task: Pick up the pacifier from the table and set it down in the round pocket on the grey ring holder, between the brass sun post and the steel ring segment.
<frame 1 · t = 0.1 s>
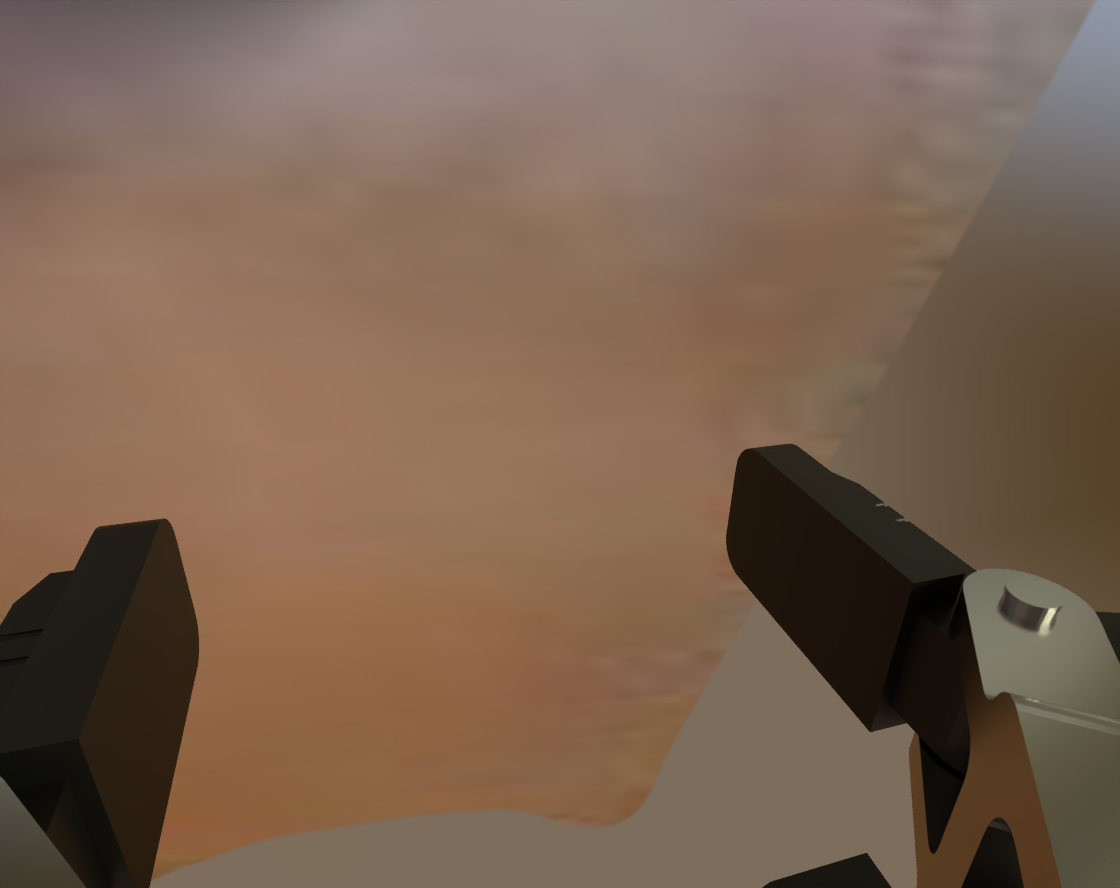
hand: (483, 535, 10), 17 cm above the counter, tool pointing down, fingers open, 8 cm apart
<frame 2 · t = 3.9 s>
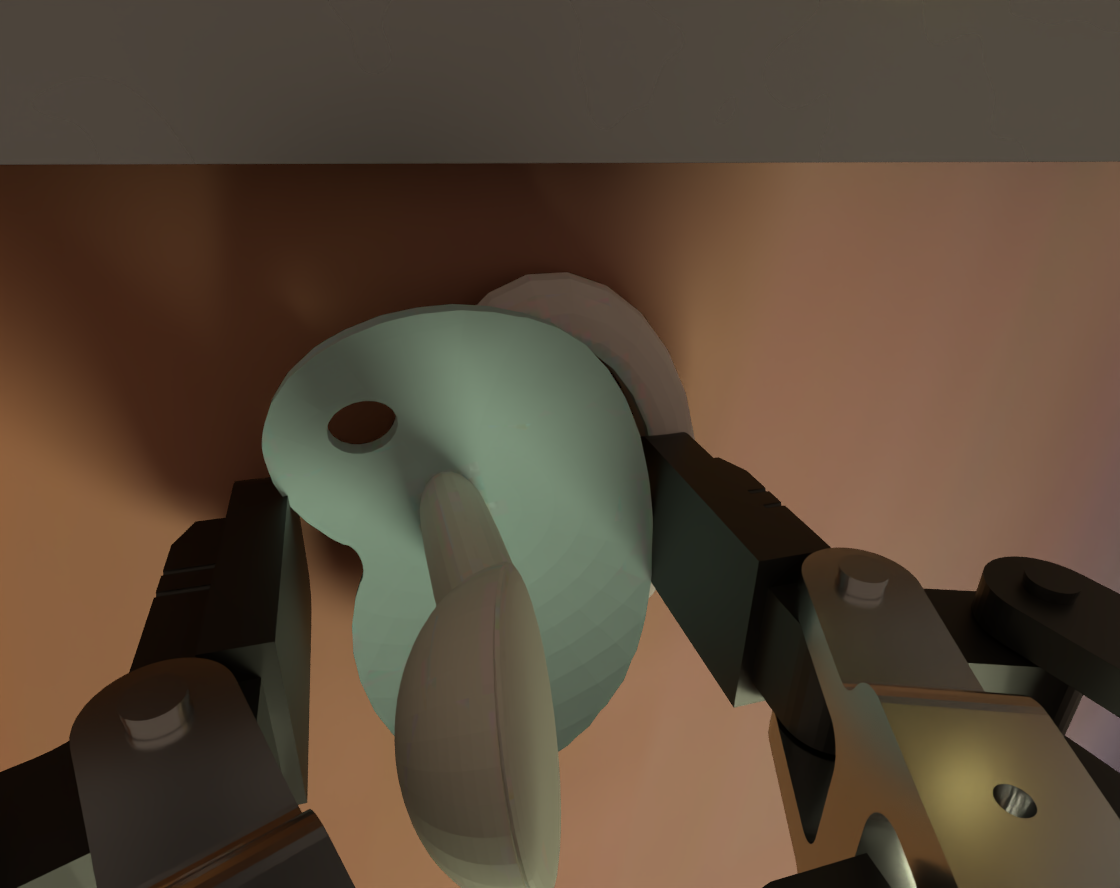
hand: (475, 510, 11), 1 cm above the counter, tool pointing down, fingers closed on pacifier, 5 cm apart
pacifier: (506, 472, 12), on the counter, touching gripper
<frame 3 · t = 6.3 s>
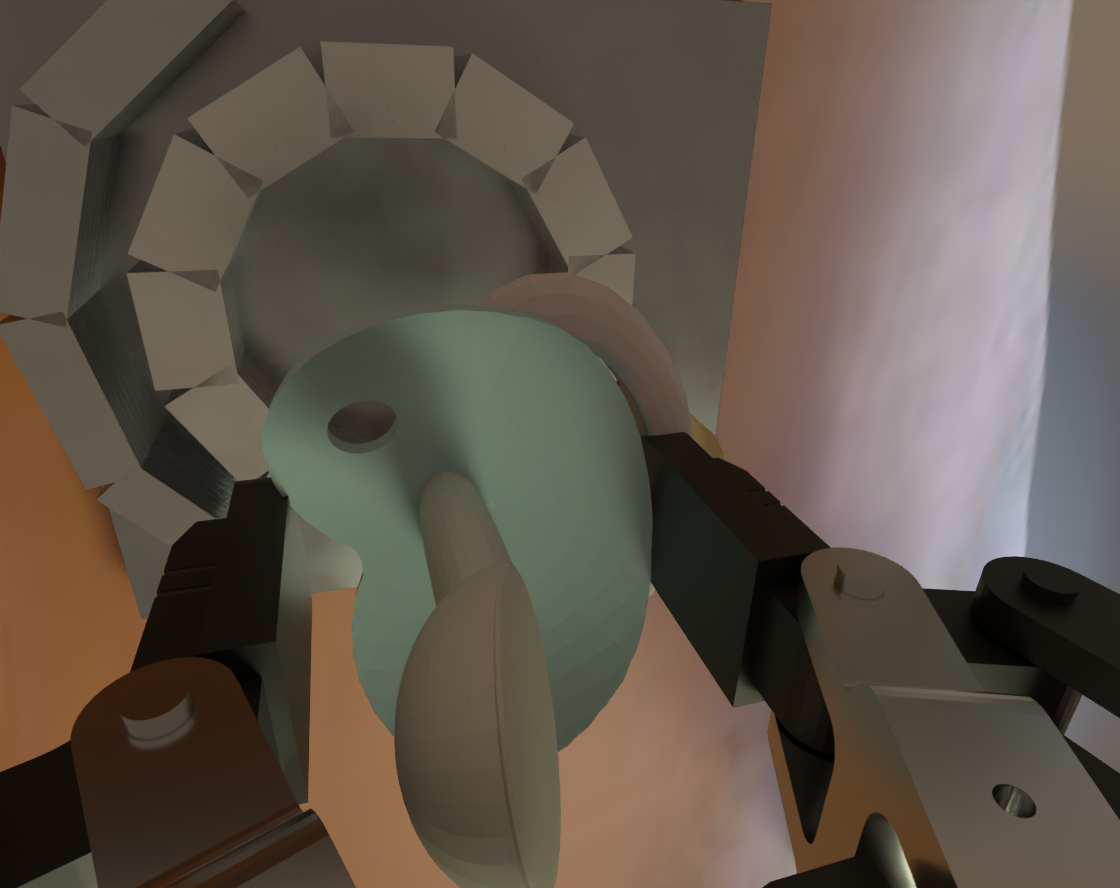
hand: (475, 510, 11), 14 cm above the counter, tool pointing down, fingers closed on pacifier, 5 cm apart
pacifier: (506, 472, 12), point 13 cm above the counter, touching gripper
grey ring holder: (431, 316, 23), on the counter
when the fingers open (4 cm above the counter, at t = 8.8 s): pacifier drops 2 cm, resting on grey ring holder.
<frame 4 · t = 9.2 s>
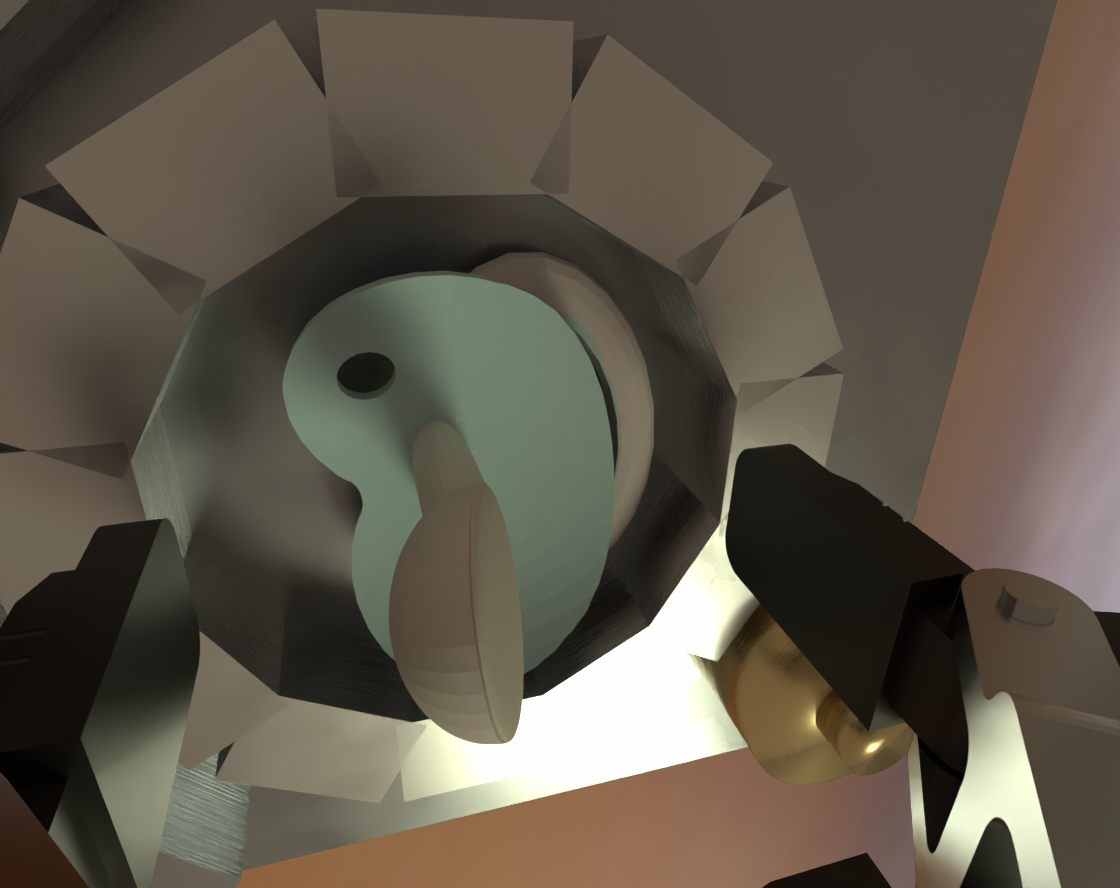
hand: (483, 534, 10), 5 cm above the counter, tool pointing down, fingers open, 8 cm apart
pacifier: (488, 429, 13), point 1 cm above the counter, touching grey ring holder
grey ring holder: (490, 450, 15), on the counter
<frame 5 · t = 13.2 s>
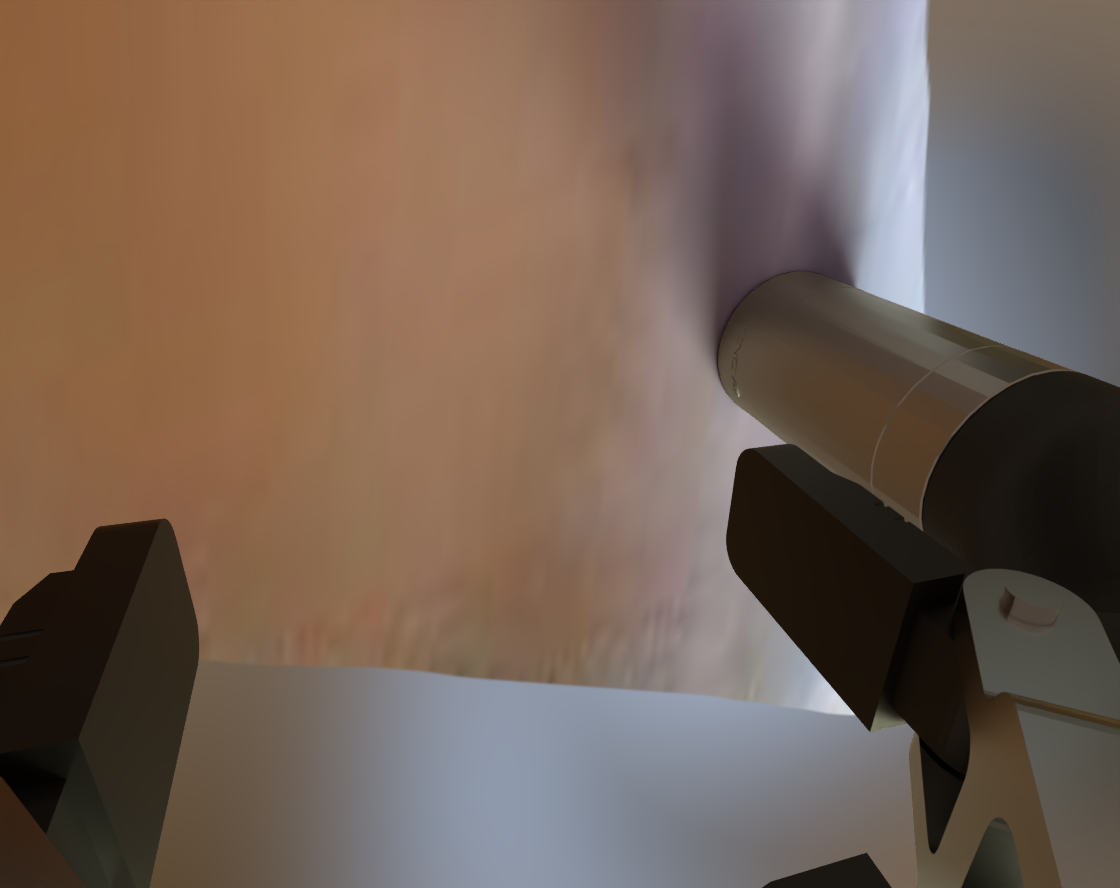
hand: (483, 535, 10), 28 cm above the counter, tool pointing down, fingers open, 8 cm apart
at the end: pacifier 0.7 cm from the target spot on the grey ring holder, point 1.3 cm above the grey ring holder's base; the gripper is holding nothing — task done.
